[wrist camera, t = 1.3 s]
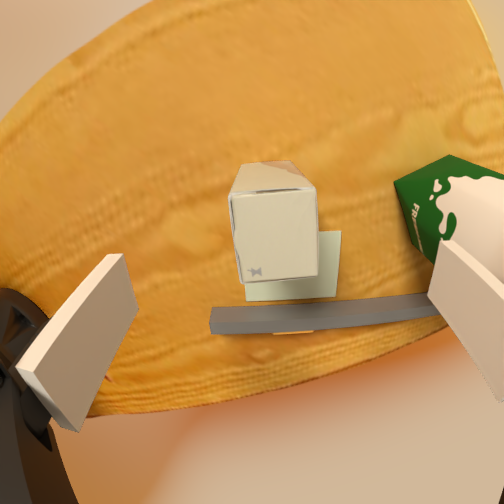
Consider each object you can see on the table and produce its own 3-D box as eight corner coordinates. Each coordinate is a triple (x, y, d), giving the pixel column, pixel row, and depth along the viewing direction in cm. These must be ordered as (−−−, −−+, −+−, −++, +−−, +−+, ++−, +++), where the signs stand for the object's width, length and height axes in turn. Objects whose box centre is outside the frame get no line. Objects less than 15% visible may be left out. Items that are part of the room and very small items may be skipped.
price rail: (214, 322, 31) (211, 337, 28) (212, 307, 30) (209, 322, 27) (437, 304, 30) (446, 316, 27) (441, 290, 29) (451, 302, 27)
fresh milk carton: (469, 219, 25) (600, 328, 7) (405, 255, 27) (521, 409, 9) (452, 142, 22) (629, 214, 4) (380, 176, 24) (559, 306, 6)
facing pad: (246, 300, 29) (246, 301, 29) (241, 234, 26) (240, 235, 26) (335, 295, 29) (335, 296, 29) (340, 230, 26) (341, 231, 26)
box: (294, 216, 26) (319, 283, 16) (245, 220, 26) (239, 290, 16) (291, 156, 23) (318, 186, 13) (238, 161, 24) (225, 194, 14)
